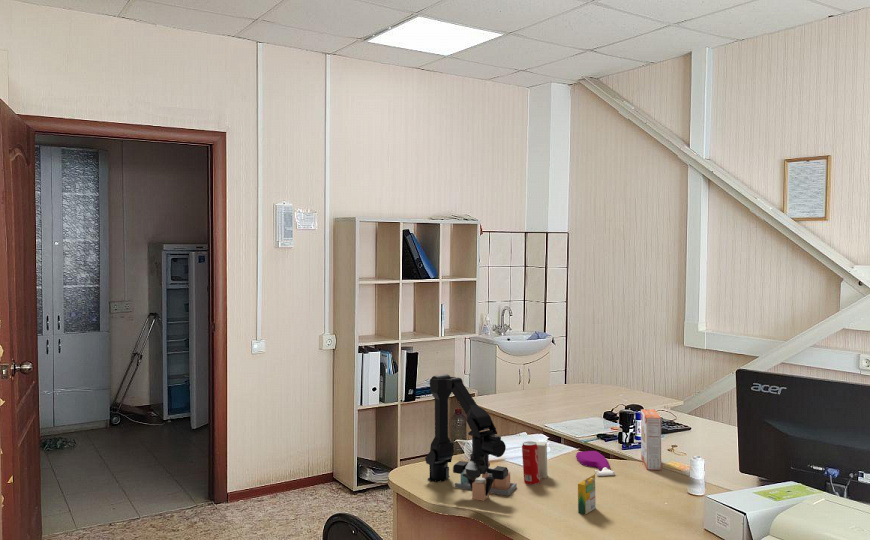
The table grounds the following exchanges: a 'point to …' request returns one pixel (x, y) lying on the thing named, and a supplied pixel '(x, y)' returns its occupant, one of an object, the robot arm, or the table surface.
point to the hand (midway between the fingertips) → (480, 494)
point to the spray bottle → (595, 462)
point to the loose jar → (479, 489)
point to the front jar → (502, 483)
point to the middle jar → (487, 476)
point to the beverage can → (530, 463)
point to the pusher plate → (463, 479)
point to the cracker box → (651, 439)
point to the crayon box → (586, 495)
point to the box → (542, 459)
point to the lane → (492, 490)
